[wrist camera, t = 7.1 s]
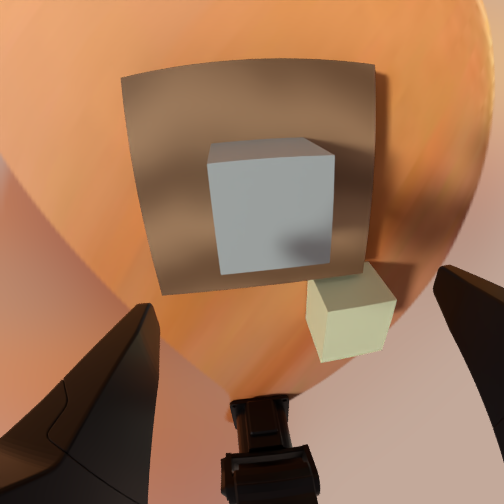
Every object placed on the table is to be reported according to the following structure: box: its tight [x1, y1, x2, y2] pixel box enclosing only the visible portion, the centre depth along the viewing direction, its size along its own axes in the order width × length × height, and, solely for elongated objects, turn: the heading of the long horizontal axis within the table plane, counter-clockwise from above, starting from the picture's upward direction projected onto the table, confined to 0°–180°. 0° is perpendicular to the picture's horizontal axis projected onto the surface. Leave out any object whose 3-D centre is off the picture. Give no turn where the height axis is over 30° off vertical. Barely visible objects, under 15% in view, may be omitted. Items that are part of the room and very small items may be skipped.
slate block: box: [207, 137, 335, 275], centre depth 15 cm, size 5×5×5 cm
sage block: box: [306, 262, 397, 363], centre depth 22 cm, size 5×5×5 cm
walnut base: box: [121, 58, 376, 296], centre depth 18 cm, size 14×14×2 cm
